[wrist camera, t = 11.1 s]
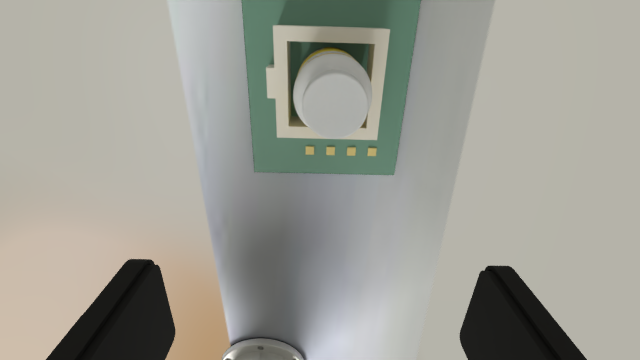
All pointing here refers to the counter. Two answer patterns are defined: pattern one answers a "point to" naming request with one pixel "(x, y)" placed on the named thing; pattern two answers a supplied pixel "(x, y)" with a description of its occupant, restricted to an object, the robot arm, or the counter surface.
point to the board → (284, 63)
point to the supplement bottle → (332, 93)
